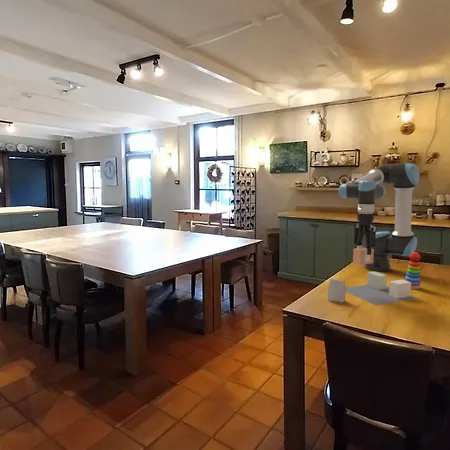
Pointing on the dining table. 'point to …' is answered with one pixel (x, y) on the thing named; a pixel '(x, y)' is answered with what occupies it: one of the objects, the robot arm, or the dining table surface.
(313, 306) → the dining table surface
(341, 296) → the ivan-chai tea box
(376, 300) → the charcoal mat
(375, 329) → the dining table surface
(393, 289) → the cream brick
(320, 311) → the dining table surface
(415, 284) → the stacking toy
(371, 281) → the sage brick
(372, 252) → the terracotta brick
